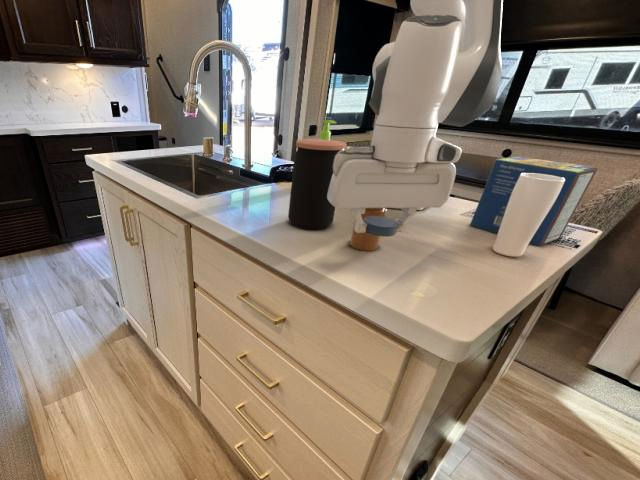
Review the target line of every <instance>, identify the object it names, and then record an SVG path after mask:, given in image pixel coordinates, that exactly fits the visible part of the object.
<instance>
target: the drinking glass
mask: <svg viewBox="0 0 640 480" xmlns="http://www.w3.org/2000/svg"><path fill="white" fill-rule="evenodd" d="M564 182H565V179H564V178H561V177H558V176H553V175H546V174H538V173H522V174H520V176H519V178H518V180H517V182H516V184H515V186H514V189H513V191H512V193H511V196H510V199H509V201H508V204H507V207H506V210H505V213H504V216H503V219H502V222H501V225H500V228H499V231H498V234H497V233H496V236H495V239H494V242H493V244H492V246H491V247H492V251H494V252H495V253H496V254H499V255H501V256H506V257H511V258H513V257H514V258H517V257H518V258H519V257H521V256H523V255H524V253H525V252H526V249H527V248H528V245H529V244H530V243H529V242H530V241H531V239H532V238H533V236H534V234H535V233H536V231H537V230H538V228H539V226H540V225H541V223H542V222H543V220H544V219H545V217H546V215H547V214H548V212H549V211H550V209H551V207H552V206H553V204H554V202H555V201H556V199H557V197H558V195H559V193H560V191H561V189H562V187H563V184H564Z"/></svg>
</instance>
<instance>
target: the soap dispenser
mask: <svg viewBox="0 0 640 480" xmlns="http://www.w3.org/2000/svg"><path fill="white" fill-rule="evenodd" d="M321 121H322V123H323V129H322V130H320V131H319V138H318V139H322V140H331V135H332V131H330V125H336V124H337V121H335V120H333V119H323V120H321Z"/></svg>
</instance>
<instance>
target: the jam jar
mask: <svg viewBox="0 0 640 480" xmlns="http://www.w3.org/2000/svg"><path fill="white" fill-rule="evenodd" d="M387 209H388V208H366V209H365V213H364V214H361V216H362V220H364V218H365V217H367V216H381V217H386V214H387ZM355 222H356V221H355V220H354V223H353V227H352V233H351V238H350V243H349V245H350V246H351V247H352V248H355V249H357V250H358V251H359V250H360V251H367V252H368V251H370V252H371V251H375V250H377V249H378V246H379V242H380V238H381V236H375V235H371V234H369V233H366V232H365V233H357V232H355V231H354V226H355Z"/></svg>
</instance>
